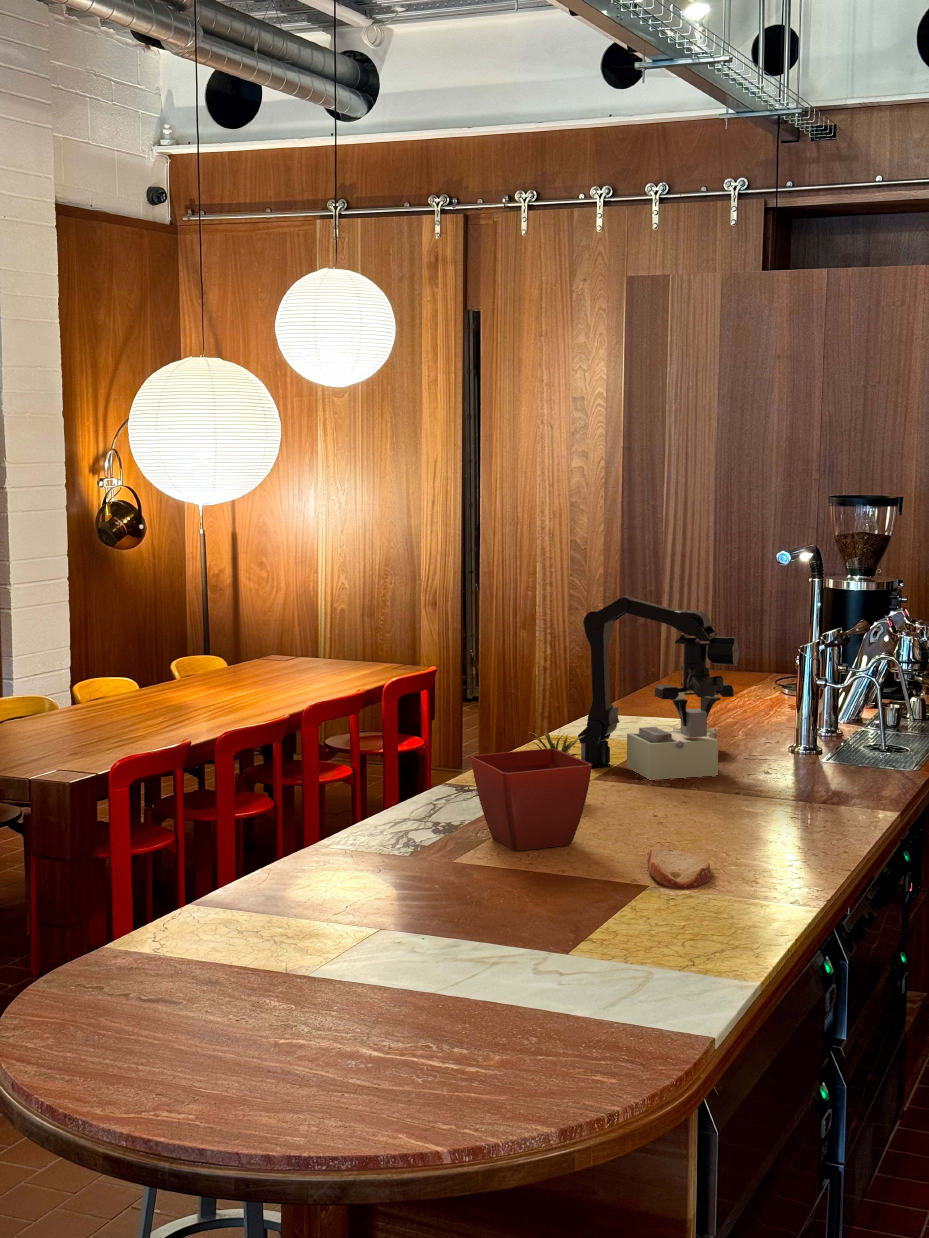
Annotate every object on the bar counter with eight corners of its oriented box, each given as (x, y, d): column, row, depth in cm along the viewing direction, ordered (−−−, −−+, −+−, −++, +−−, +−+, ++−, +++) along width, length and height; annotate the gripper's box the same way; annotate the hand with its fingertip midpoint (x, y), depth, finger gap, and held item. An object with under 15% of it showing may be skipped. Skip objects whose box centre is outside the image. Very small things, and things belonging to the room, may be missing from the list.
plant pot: (469, 834, 279) (468, 754, 277) (554, 825, 286) (553, 747, 284) (504, 858, 261) (504, 773, 260) (593, 848, 268) (594, 764, 266)
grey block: (689, 737, 329) (690, 713, 328) (680, 733, 334) (681, 709, 334) (706, 736, 330) (707, 712, 329) (697, 732, 335) (697, 708, 335)
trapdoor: (656, 753, 328) (656, 735, 327) (637, 744, 339) (637, 727, 339) (715, 749, 332) (715, 732, 331) (695, 740, 343) (695, 723, 343)
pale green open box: (650, 781, 326) (650, 743, 325) (626, 768, 341) (626, 731, 340) (718, 776, 331) (719, 738, 330) (691, 763, 346) (692, 727, 345)
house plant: (509, 800, 308) (509, 730, 306) (535, 788, 320) (535, 720, 318) (567, 807, 301) (567, 735, 299) (591, 794, 313) (591, 725, 311)
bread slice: (661, 854, 265) (661, 835, 264) (740, 872, 252) (741, 853, 252) (604, 874, 252) (604, 854, 251) (685, 894, 239) (685, 874, 239)
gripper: (672, 668, 320) (670, 733, 322) (744, 665, 325) (743, 729, 326) (654, 662, 331) (653, 725, 333) (724, 659, 335) (723, 721, 337)
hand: (693, 725), depth 332 cm, fingers closed on grey block, 4 cm apart
